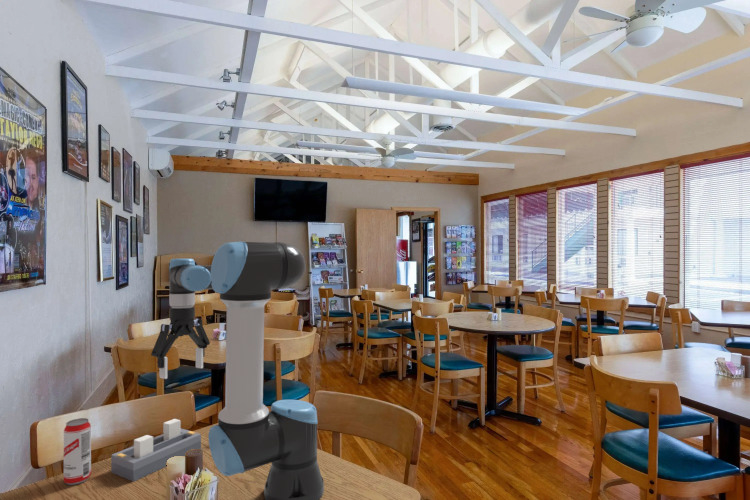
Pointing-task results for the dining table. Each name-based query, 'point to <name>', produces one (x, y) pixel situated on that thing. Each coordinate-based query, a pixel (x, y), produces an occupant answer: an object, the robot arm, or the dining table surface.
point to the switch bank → (153, 455)
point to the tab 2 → (171, 429)
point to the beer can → (77, 451)
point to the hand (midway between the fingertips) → (182, 372)
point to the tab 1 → (143, 446)
